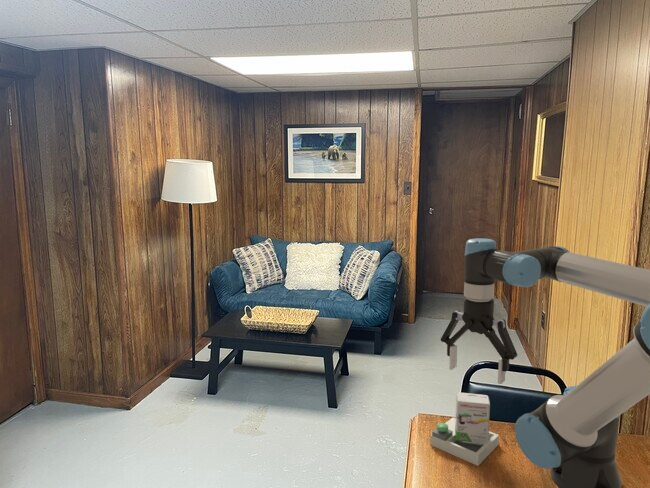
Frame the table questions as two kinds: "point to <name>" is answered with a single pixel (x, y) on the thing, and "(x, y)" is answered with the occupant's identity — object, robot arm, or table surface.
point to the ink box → (472, 417)
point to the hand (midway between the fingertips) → (476, 374)
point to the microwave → (463, 444)
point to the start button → (442, 427)
